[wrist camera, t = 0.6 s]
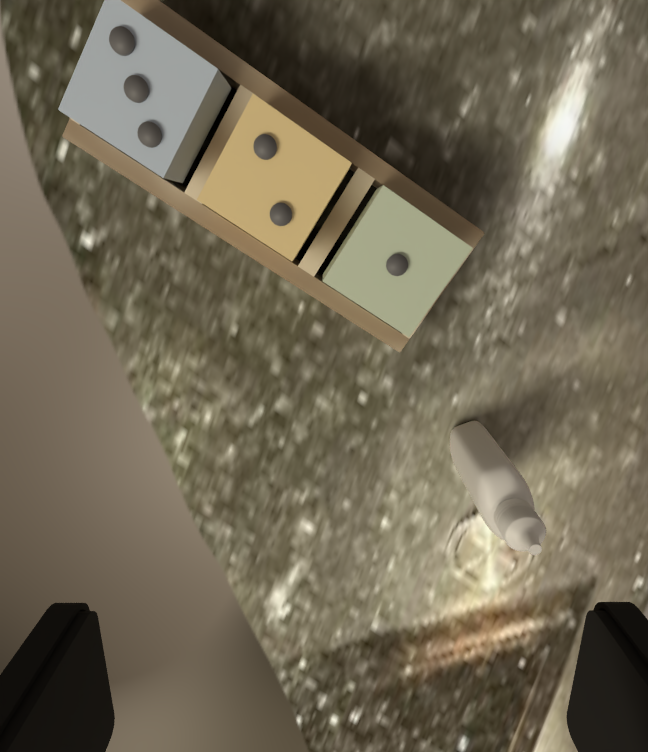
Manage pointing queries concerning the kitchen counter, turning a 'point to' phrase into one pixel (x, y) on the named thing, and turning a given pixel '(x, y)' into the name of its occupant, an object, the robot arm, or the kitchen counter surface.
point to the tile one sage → (395, 261)
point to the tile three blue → (144, 91)
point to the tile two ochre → (273, 178)
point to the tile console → (363, 160)
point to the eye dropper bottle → (496, 488)
